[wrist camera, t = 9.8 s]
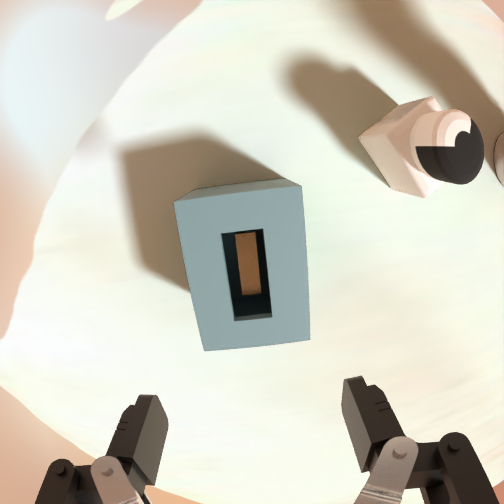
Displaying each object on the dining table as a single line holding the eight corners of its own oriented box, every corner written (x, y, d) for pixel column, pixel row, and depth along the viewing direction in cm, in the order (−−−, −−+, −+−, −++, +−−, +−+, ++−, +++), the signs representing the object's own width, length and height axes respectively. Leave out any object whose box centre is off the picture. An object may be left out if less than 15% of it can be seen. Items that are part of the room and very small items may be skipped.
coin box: (285, 178, 32) (301, 186, 22) (294, 294, 36) (310, 339, 26) (194, 189, 32) (173, 201, 22) (213, 303, 36) (204, 351, 27)
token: (253, 219, 32) (255, 232, 26) (258, 270, 34) (261, 293, 28) (237, 220, 32) (235, 234, 26) (242, 272, 34) (242, 295, 28)
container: (431, 155, 31) (502, 162, 18) (391, 190, 32) (458, 211, 20) (399, 104, 29) (466, 86, 16) (355, 137, 30) (415, 129, 18)
